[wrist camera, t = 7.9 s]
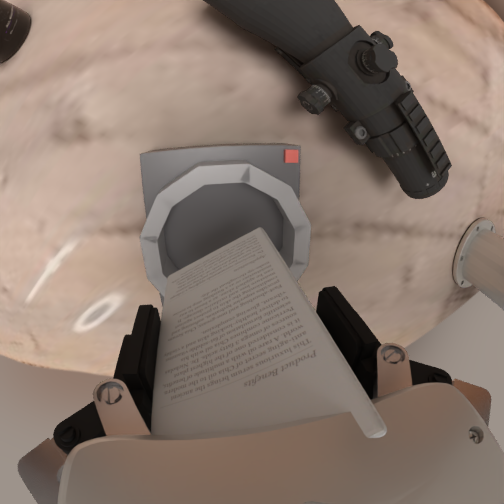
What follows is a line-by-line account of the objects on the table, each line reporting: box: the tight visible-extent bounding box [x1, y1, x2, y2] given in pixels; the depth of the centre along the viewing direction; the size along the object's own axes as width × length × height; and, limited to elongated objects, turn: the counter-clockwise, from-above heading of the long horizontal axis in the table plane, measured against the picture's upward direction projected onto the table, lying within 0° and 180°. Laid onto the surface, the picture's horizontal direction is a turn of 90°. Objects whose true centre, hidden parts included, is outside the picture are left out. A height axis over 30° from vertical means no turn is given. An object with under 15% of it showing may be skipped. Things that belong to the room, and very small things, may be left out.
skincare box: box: [151, 227, 387, 438], centre depth 10 cm, size 6×4×12 cm
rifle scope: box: [203, 0, 452, 199], centre depth 17 cm, size 10×26×10 cm, turn 46°
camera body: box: [140, 143, 311, 306], centre depth 22 cm, size 12×14×8 cm
